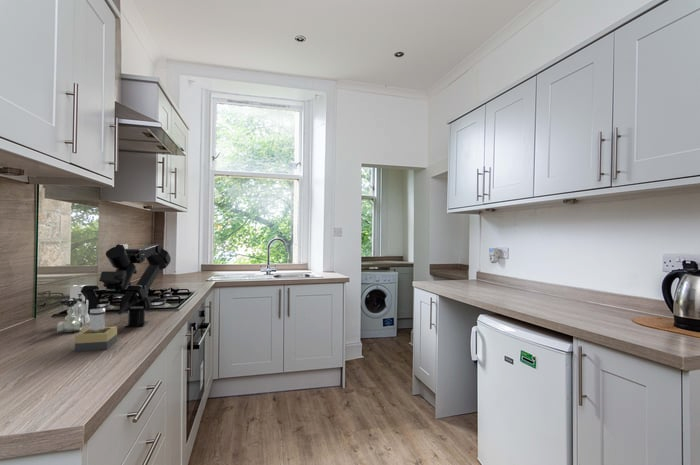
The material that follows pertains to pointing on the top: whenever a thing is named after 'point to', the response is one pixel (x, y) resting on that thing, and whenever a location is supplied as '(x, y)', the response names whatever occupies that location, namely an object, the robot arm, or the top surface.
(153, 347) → the top surface
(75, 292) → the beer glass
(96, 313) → the metal tumbler
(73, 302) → the valve
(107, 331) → the collar block
